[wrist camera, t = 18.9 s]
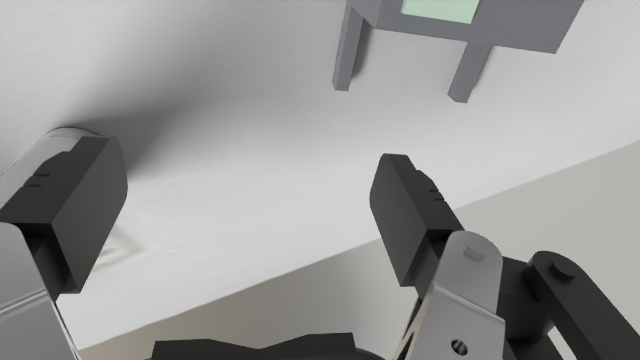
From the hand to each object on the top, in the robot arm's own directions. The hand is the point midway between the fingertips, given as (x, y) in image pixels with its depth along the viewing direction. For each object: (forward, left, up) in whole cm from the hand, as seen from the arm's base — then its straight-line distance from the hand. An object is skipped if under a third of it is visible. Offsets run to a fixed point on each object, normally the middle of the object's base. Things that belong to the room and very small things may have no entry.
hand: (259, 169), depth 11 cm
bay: (-1, -18, -32) cm, 37 cm away
